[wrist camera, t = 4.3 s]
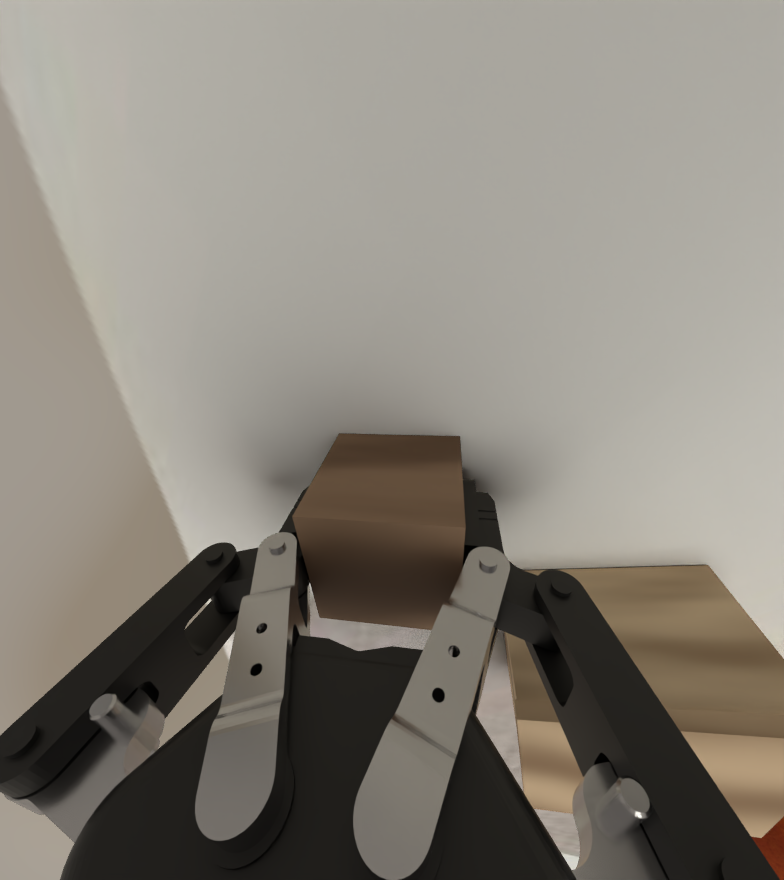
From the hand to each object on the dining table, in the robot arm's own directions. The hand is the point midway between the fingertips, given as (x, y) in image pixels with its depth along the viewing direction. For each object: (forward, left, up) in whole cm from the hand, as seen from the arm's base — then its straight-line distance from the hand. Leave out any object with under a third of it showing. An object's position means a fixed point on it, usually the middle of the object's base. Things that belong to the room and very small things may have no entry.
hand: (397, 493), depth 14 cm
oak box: (+9, +10, -1) cm, 13 cm away
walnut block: (0, 0, -1) cm, 1 cm away
